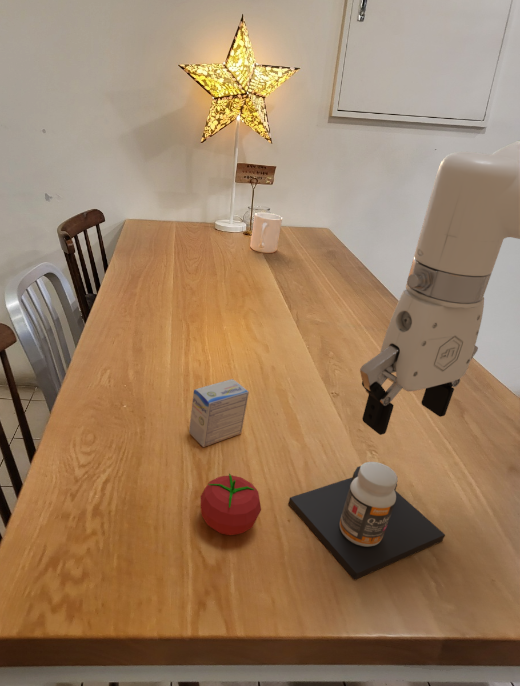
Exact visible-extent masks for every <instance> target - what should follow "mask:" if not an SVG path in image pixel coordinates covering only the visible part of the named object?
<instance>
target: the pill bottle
mask: <svg viewBox="0 0 520 686" xmlns="http://www.w3.org/2000/svg"><path fill="white" fill-rule="evenodd" d="M360 466H361V467H360V470H359V472H358V477H356V478H355V479H354V480H353V481H352V483H351V485H350V488H349V492H348V495H347V499H346V502H345V505H344V509H343V512H342V515H341V519H340V529H341V532H342V534H343V535H344V536H345V537H346V538H347V539H348V540H349V541H351V542H353V543H354V544H357V545H360V546H365V547H370V546H375V545H377V544H378V543H379V542H380V541H381V540H382V538H383V535H384V533H385V530H386V527H387V524H388V521H389V518H390V516H391V513H392V510H393V507H394V505H395V502H396V493H395V490H394V489H395V487H396V484H397V485H398V481H399V479H398V475H397V473H396V471H395V470H393V468H391V467H390V466H388V465H386V464H384V463H382V462H378V461H367V462H363V463H362V464H361V465H360ZM396 488H397V487H396Z"/></svg>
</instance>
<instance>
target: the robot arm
mask: <svg viewBox="0 0 520 686" xmlns="http://www.w3.org/2000/svg"><path fill="white" fill-rule="evenodd" d="M420 229H421V230H420V233H419V237H418V239H417V240H418V241H417V244H416V247H415V251H414V254H413V259H412V263H411V265H410V270H409V273H408V277H407V281H406V284H405V289H403V291H402V293H401V295H400V297H399V299H398V301H397V303H396V306H395V308H394V309H393V310H394V311H393V313H392V315H391V318H390V320H389V324H388V325H387V329H386V331H385V335H384V338H383V340H382V344H381V348H380V351H379V353H378V354H377V355H376V356H374V357H372V358H371V359H369V360H368V361H367V362H366V363H364V364H362V365H361V367H360V369H359V373H360V377H361V381H362V382H361V386H362V387H363V388H364V390H365V393H366V394H368V396H367V400H366V404H365V407H364V410H363V415H362V422H363V423H364V424H365V425H366V426H368V427H369V428H370V429H372V430H373V431H374V432H375V433H377V434H378V435H379V436H382V435H385V434H386V433H387V430H388V426H389V423H390V420H391V416H392V413H393V409H394V404H393V403H392V402H393V400H394V399H395V397H397V395H398V394H399V393H400V392H401V390H402V389H403V391H406V392H416V391H422V390H424V389H425V391H424V393H423V397H422V399H421V403H420V404H421V405H422V406H423V407H424V408H426V409H427V410H429V411H430V412H432V413H433V414H435V415H436V416H438V417H440V418H441V417H445V415H446V413H447V411H448V408H449V405H450V402H451V400H452V397H453V394H454V391H455V388H456V387H458V386H459V384H460V383H461V379H462V378H463V377H464V376H465V375H466V373H467V371H468V369H469V366H470V363H471V361H472V359H473V358H474V356H475V355H476V354H477V352H478V349H479V347H478V346H477V345H476V343H477V340H478V336H479V333H480V329H481V324H482V320H483V313H484V307H485V297H484V296H485V293H486V290H487V287H488V285H489V282H490V279H491V276H492V272H493V270H494V267H495V264H496V262H497V260H498V257H499V253H500V250H501V248H502V244H503V243H504V240H505V239H507V238H513V239H517V240H520V139H519V140H516V141H514V142H511V143H509V144H507V145H505V146H503V147H501V148H499V149H496V150H495V151H494V152H492V153H484V152H477V151H455V152H451V153H449V154H447V155H445V156H444V158H443V159H442V160H441V161H440V164H439V166H438V169H437V172H436V175H435V178H434V182H433V186H432V190H431V193H430V196H429V200H428V204H427V208H426V211H425V215H424V219H423V222H422V226H421V228H420ZM394 373H395V375H394ZM387 380H388V381H389V382H392V383H391V385H390V386H389V387H388V388H387V389H385V388H384V387H383V385H384V383H385V382H386V381H387Z"/></svg>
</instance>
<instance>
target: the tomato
mask: <svg viewBox="0 0 520 686" xmlns="http://www.w3.org/2000/svg"><path fill="white" fill-rule="evenodd" d="M261 511H262V506H261V500H260V494H259V491H258V490H257V488H256V487H255V486H254V484H253V483H251V482H250V481H248V480H246V479H244V478H243V477H241V476H237V475H232V474H231V473H228V475H221V476H218V477H216V478H213V479H212V480H209V482H208V483H207V485H206V486H205V488H204V489H203V491H202V493H201V495H200V513H201V517H202V518H203V520H204V521H205V523H206V525H207V526H209V527H210V528H211V529H213V531H216V532H218V533H219V534H222V535H225V536H235V535H241V534H243V533H245V532H248V531H249V530H250V529H252V528H253V527H254V525H255V523H256V521H257V519H258V518H259V516H260V513H261Z"/></svg>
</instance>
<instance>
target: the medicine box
mask: <svg viewBox="0 0 520 686" xmlns="http://www.w3.org/2000/svg"><path fill="white" fill-rule="evenodd" d="M249 394H250V392H249V390H247V389H246V388H245V387H244V386H243V385H242V384H240V383H239V382H238V381H237V380H235V379H234V378H230V379H227V380H223V381H219V382H216V383H213V384H208V385H206V386H202V387H199V388H196V389H193V394H192V402H191V411H190V420H189V429H188V433H189V435H190V436H192V437H193V439H194V440H195V441H196V442H197V443H198V444H199V445H200V446H201V447H202V448H205V447H207V446H211V445H213V444H216V443H219V442H222V441H224V440H227V439H230V438H232V437H235V436H238V435H241V434H242V433H243V428H244V422H245V421H244V420H245V416H246V410H247V405H248V400H249Z"/></svg>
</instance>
